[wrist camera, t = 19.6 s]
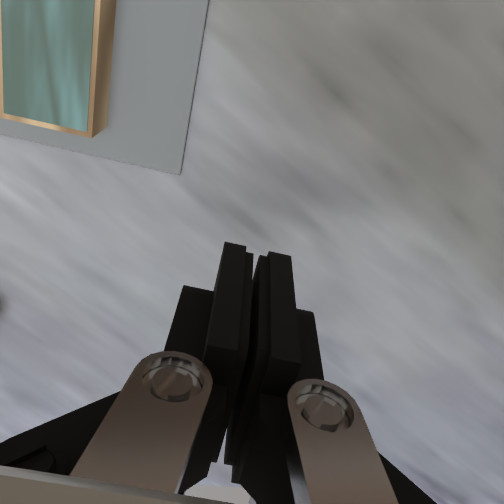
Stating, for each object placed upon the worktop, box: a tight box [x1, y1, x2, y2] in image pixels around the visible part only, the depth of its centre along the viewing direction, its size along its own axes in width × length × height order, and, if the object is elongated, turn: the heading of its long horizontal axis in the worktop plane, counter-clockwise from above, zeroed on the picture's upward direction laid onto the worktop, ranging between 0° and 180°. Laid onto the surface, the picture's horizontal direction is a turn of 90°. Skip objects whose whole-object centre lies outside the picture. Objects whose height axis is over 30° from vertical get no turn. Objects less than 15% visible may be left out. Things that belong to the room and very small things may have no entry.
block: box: [0, 0, 116, 138], centre depth 32 cm, size 4×10×6 cm
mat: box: [0, 0, 209, 175], centre depth 34 cm, size 15×14×1 cm
